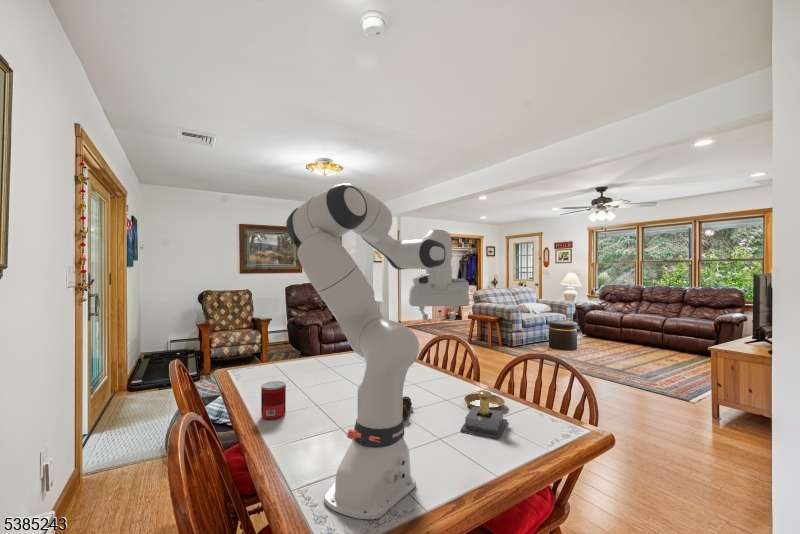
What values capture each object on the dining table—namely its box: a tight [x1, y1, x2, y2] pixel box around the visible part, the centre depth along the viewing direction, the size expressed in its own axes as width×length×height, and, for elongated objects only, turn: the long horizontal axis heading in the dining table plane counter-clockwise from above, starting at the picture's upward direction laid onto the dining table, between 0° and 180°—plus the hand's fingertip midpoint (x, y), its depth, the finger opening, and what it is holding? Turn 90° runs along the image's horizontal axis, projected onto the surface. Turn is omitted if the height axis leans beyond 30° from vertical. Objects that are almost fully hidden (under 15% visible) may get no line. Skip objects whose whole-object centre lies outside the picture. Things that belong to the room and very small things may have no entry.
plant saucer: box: [463, 392, 506, 411], centre depth 137 cm, size 15×15×3 cm
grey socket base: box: [460, 407, 508, 441], centre depth 119 cm, size 14×12×4 cm
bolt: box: [402, 395, 413, 422], centre depth 130 cm, size 6×5×15 cm
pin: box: [477, 390, 492, 418], centre depth 119 cm, size 4×4×11 cm
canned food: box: [260, 380, 287, 421], centre depth 127 cm, size 8×8×11 cm
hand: (438, 319), depth 123 cm, fingers open, 8 cm apart
